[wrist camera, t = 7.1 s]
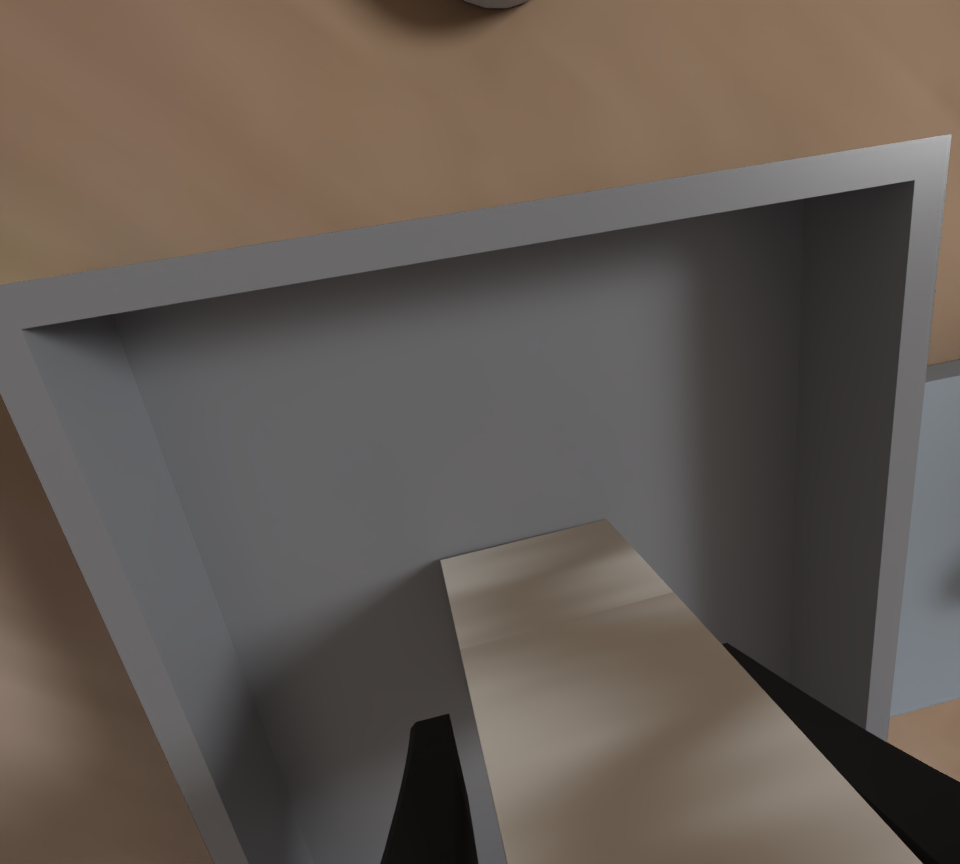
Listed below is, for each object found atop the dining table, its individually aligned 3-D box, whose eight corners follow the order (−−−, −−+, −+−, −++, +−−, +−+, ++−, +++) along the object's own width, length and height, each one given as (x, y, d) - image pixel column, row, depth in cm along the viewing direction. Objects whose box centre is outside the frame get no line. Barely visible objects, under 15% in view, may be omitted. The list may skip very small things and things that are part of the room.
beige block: (607, 519, 13) (948, 892, 5) (620, 655, 14) (910, 1115, 6) (440, 560, 12) (547, 1041, 5) (470, 697, 13) (592, 1249, 6)
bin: (792, 782, 17) (871, 884, 14) (319, 917, 16) (304, 1062, 13) (813, 167, 11) (951, 134, 9) (78, 285, 10) (-46, 292, 7)
